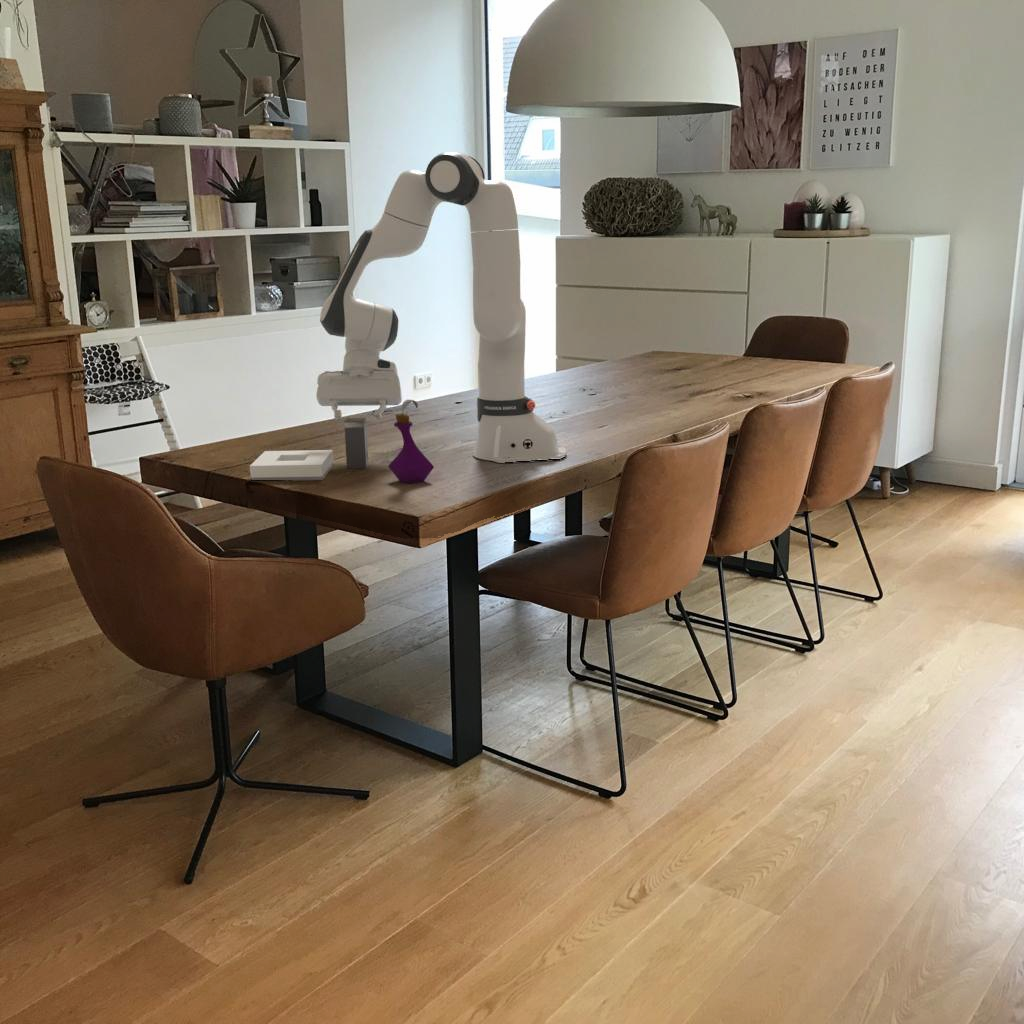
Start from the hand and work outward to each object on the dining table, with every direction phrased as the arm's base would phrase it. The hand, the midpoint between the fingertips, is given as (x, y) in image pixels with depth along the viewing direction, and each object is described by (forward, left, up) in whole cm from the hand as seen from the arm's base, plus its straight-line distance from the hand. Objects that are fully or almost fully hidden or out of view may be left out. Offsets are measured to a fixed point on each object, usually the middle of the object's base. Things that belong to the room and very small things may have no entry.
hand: (357, 418), depth 270 cm
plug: (0, +5, -10) cm, 12 cm away
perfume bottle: (-14, +21, -11) cm, 28 cm away
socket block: (+14, +11, -10) cm, 21 cm away
